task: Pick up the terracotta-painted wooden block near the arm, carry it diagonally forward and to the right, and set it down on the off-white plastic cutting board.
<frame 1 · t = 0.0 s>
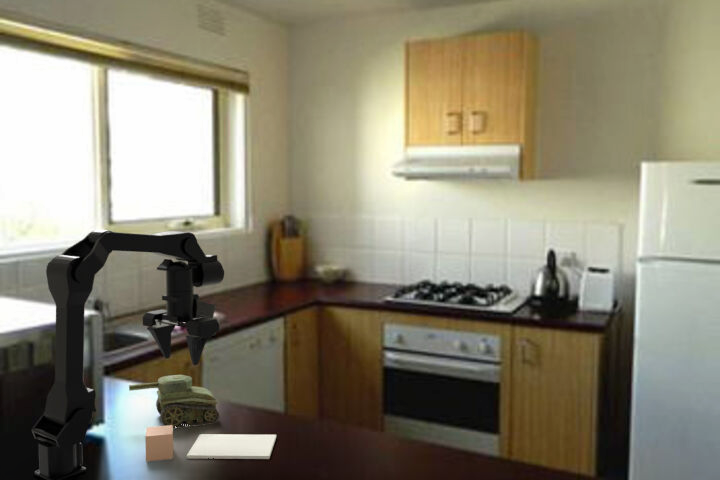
hand: (181, 361, 146), 15 cm above the countertop, tool pointing down, fingers open, 9 cm apart
board: (233, 447, 136), on the countertop
block: (159, 455, 132), on the countertop
toy: (173, 422, 151), on the countertop
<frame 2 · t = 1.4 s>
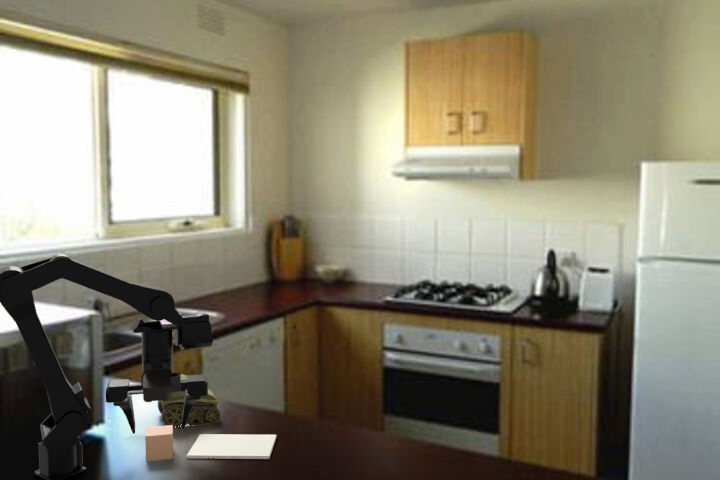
hand: (158, 431, 132), 5 cm above the countertop, tool pointing down, fingers open, 9 cm apart
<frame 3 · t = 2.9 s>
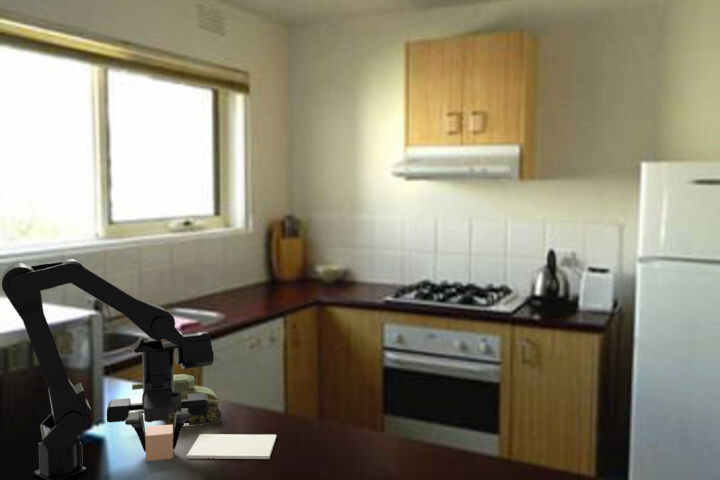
hand: (159, 449, 132), 1 cm above the countertop, tool pointing down, fingers closed on block, 5 cm apart
block: (159, 454, 132), on the countertop, touching gripper
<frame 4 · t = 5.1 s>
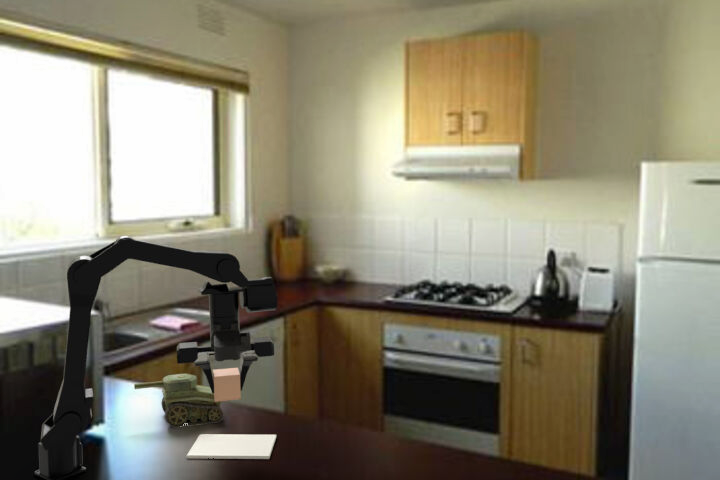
hand: (227, 391, 135), 12 cm above the countertop, tool pointing down, fingers closed on block, 5 cm apart
block: (227, 396, 135), point 11 cm above the countertop, touching gripper
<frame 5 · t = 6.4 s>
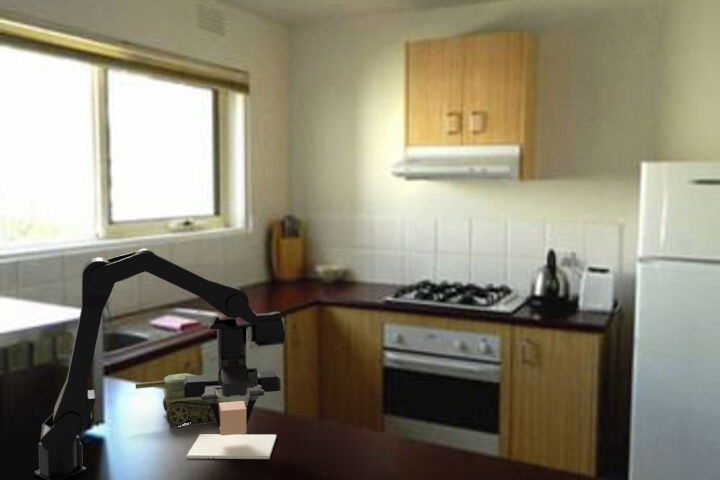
hand: (232, 425, 136), 5 cm above the countertop, tool pointing down, fingers closed on block, 5 cm apart
block: (232, 430, 136), point 4 cm above the countertop, touching gripper
when the fingers open (3 cm above the countertop, at t = 7.5 s): block drops 1 cm, resting on board.
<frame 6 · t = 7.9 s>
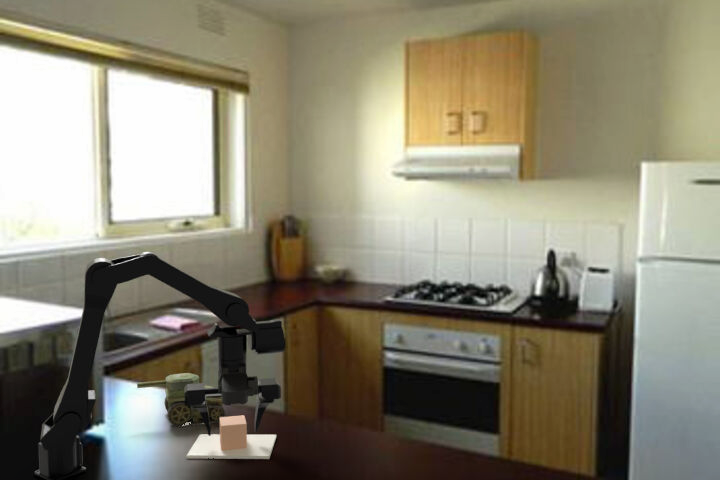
hand: (233, 433, 136), 3 cm above the countertop, tool pointing down, fingers open, 9 cm apart
block: (233, 444, 136), point 1 cm above the countertop, touching board
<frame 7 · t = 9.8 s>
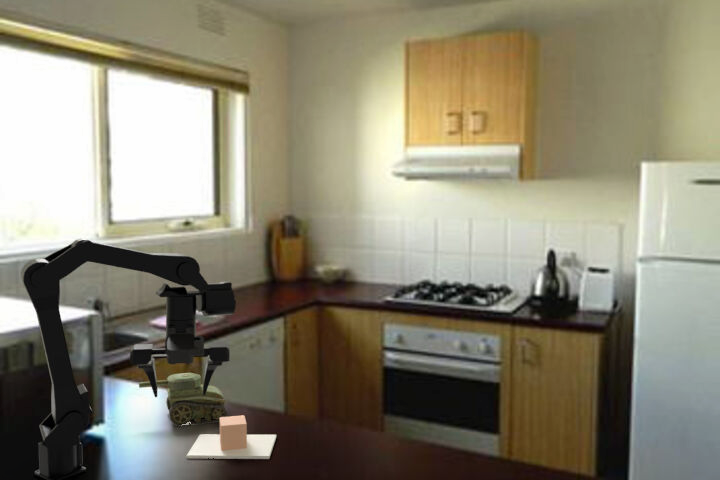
hand: (180, 395, 134), 11 cm above the countertop, tool pointing down, fingers open, 9 cm apart
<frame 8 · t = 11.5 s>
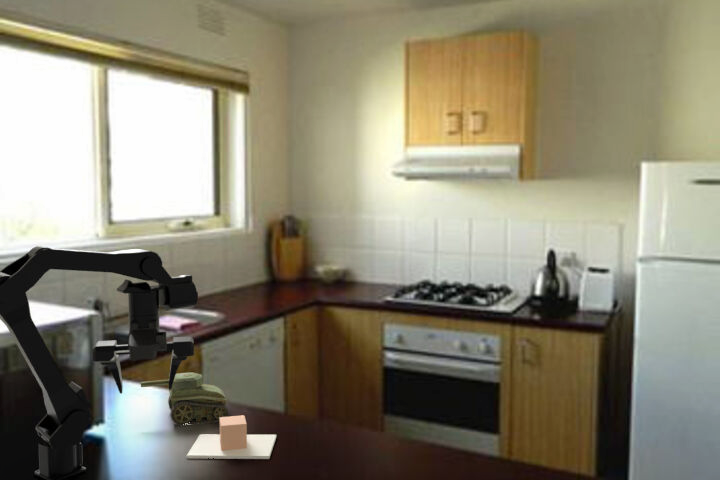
hand: (145, 391, 133), 12 cm above the countertop, tool pointing down, fingers open, 9 cm apart
at the end: block inside the target area on the board (0.0 cm from its centre), point 0.6 cm above the board's base; block tilted 0°; the gripper is holding nothing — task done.
